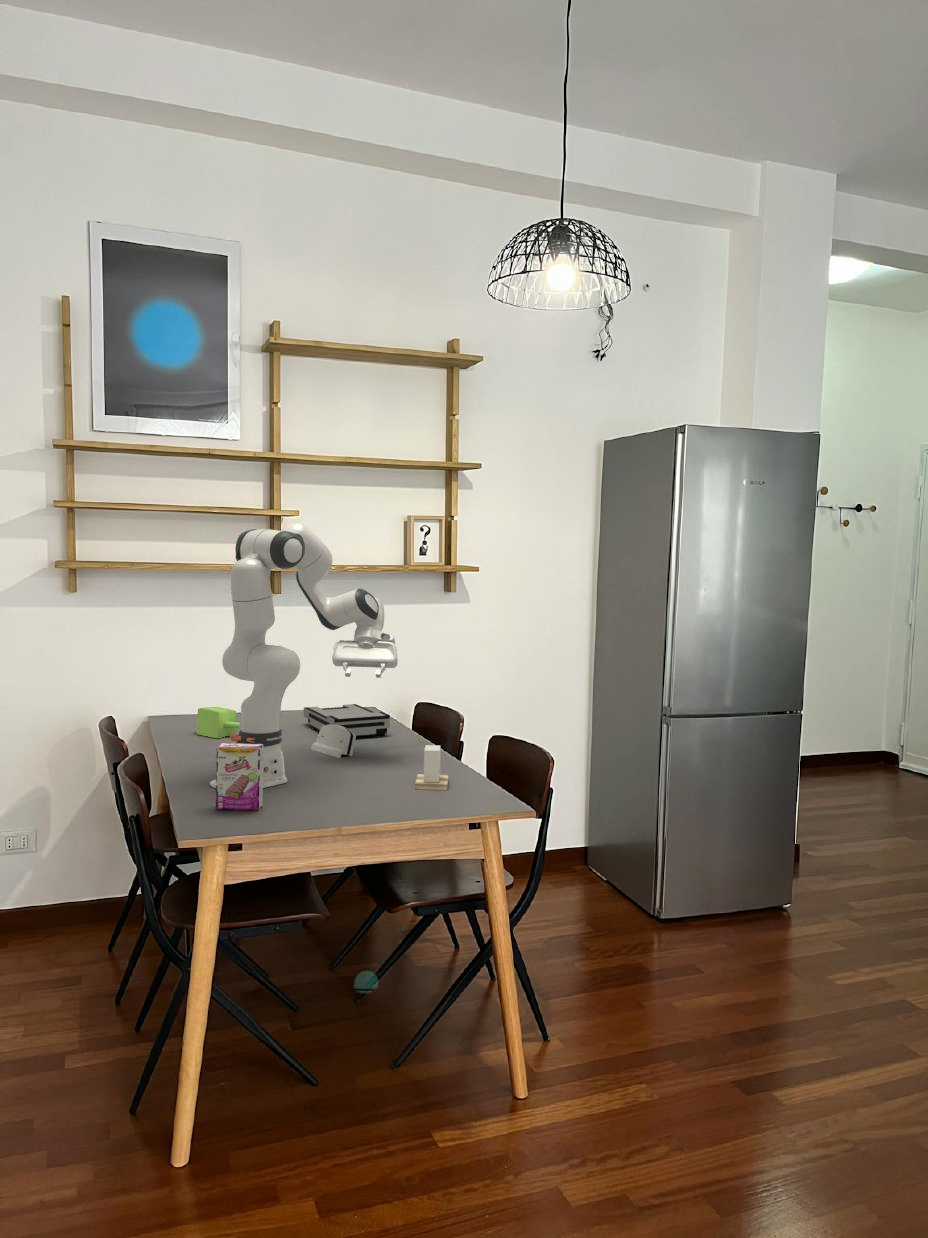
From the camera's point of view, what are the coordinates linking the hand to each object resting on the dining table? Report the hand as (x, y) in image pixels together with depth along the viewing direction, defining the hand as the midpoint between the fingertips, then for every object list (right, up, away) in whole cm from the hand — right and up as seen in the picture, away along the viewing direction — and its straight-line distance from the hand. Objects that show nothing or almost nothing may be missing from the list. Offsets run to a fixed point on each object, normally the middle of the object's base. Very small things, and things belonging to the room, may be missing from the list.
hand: (362, 676), depth 285 cm
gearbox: (-55, -24, +42) cm, 73 cm away
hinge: (-11, -26, +20) cm, 35 cm away
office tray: (-12, -24, +54) cm, 60 cm away
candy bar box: (-27, -31, -47) cm, 62 cm away
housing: (+22, -28, -19) cm, 41 cm away
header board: (+22, -30, -19) cm, 42 cm away
